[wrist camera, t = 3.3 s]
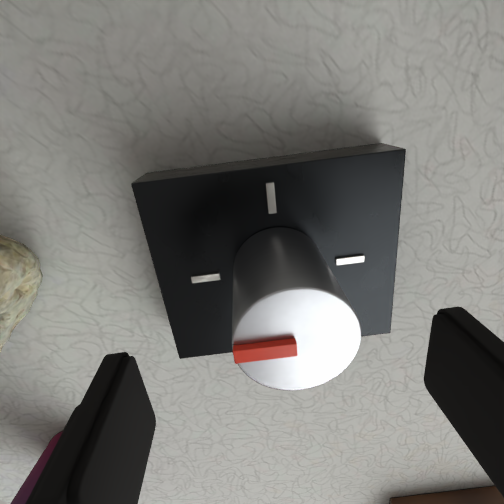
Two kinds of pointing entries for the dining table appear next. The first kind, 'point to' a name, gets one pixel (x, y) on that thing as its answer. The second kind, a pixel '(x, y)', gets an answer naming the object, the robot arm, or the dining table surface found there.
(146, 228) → the plate
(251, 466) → the dining table surface
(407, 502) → the button block
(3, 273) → the stone ring
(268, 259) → the tap knob
